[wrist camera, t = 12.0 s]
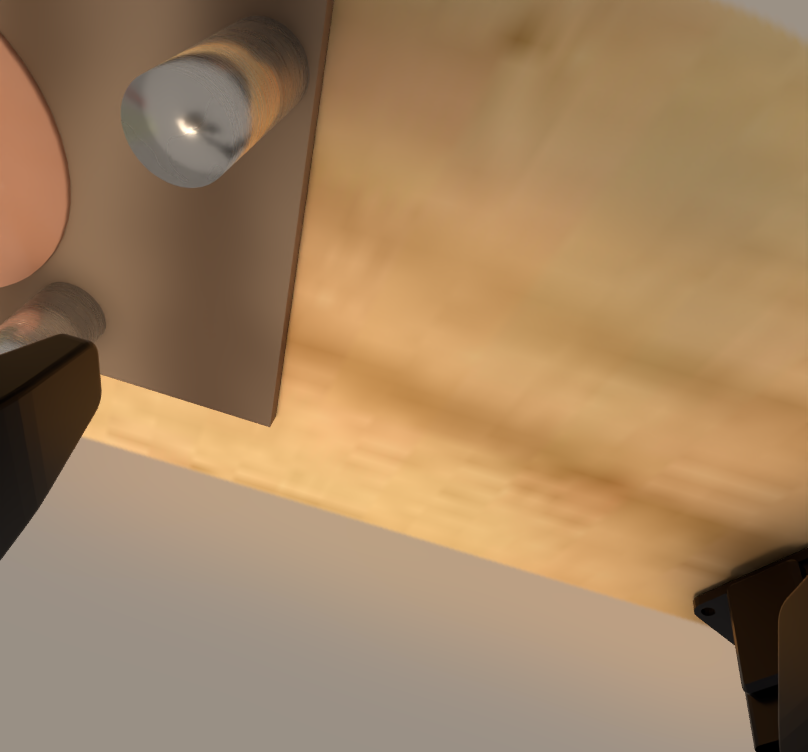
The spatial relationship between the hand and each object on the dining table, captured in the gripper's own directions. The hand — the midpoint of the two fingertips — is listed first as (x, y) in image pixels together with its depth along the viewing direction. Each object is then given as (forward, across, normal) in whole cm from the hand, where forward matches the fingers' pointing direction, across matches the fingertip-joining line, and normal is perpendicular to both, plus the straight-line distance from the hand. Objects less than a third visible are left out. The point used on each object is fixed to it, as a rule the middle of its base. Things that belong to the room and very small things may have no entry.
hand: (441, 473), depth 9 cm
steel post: (+12, +10, +5) cm, 17 cm away
